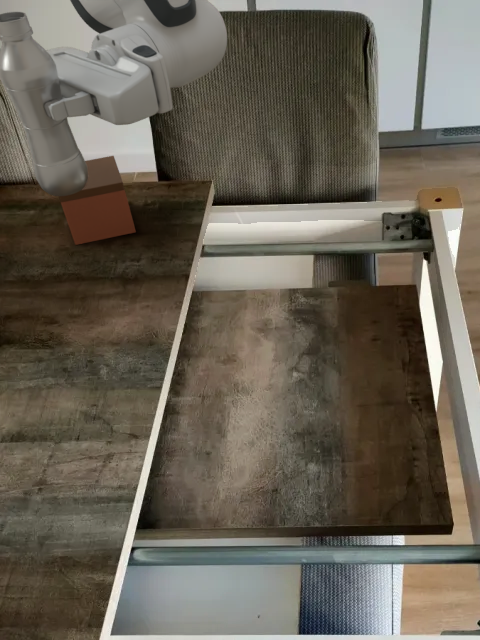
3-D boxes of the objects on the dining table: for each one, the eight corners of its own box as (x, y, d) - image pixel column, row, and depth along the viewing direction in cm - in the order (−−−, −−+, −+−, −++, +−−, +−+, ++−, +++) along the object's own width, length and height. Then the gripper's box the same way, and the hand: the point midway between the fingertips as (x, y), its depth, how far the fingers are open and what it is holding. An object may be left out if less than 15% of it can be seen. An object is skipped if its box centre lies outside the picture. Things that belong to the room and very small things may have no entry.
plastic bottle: (32, 200, 84) (-36, 26, 69) (58, 175, 89) (0, 6, 74) (77, 205, 83) (18, 28, 68) (101, 179, 87) (51, 8, 73)
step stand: (75, 245, 97) (57, 194, 91) (69, 215, 103) (52, 166, 97) (136, 232, 99) (122, 182, 93) (126, 204, 105) (113, 155, 99)
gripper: (68, 26, 86) (-27, 58, 80) (171, 58, 77) (74, 97, 70) (82, 77, 91) (-6, 111, 84) (181, 113, 82) (91, 155, 75)
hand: (31, 105), depth 77 cm, fingers closed on plastic bottle, 6 cm apart
